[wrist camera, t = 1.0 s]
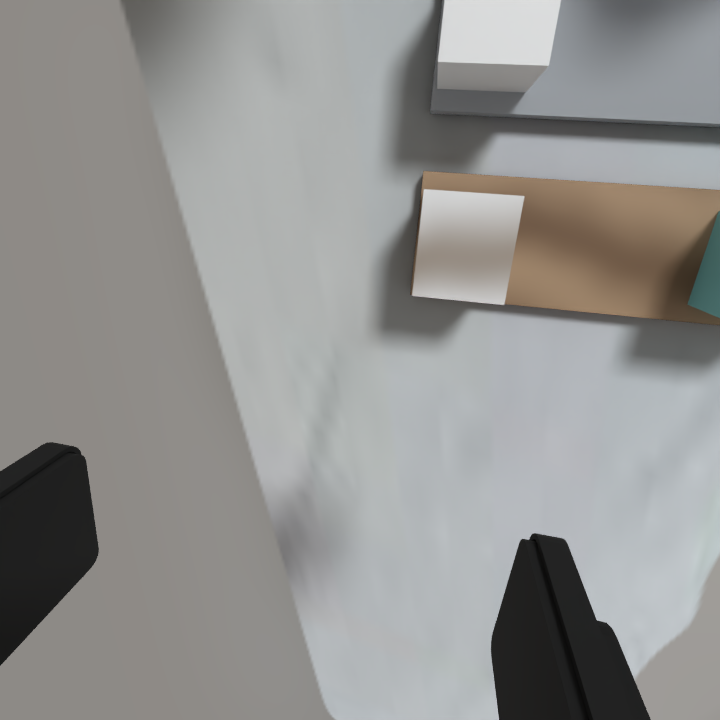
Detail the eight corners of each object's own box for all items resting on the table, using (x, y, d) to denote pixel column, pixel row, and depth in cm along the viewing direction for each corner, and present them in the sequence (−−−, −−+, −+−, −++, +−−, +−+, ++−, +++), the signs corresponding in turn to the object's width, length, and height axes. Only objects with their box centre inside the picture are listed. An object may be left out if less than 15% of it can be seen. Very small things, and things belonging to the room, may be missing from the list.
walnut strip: (424, 172, 26) (420, 165, 20) (939, 205, 22) (1105, 207, 17) (411, 291, 28) (405, 314, 23) (873, 336, 25) (999, 376, 19)
